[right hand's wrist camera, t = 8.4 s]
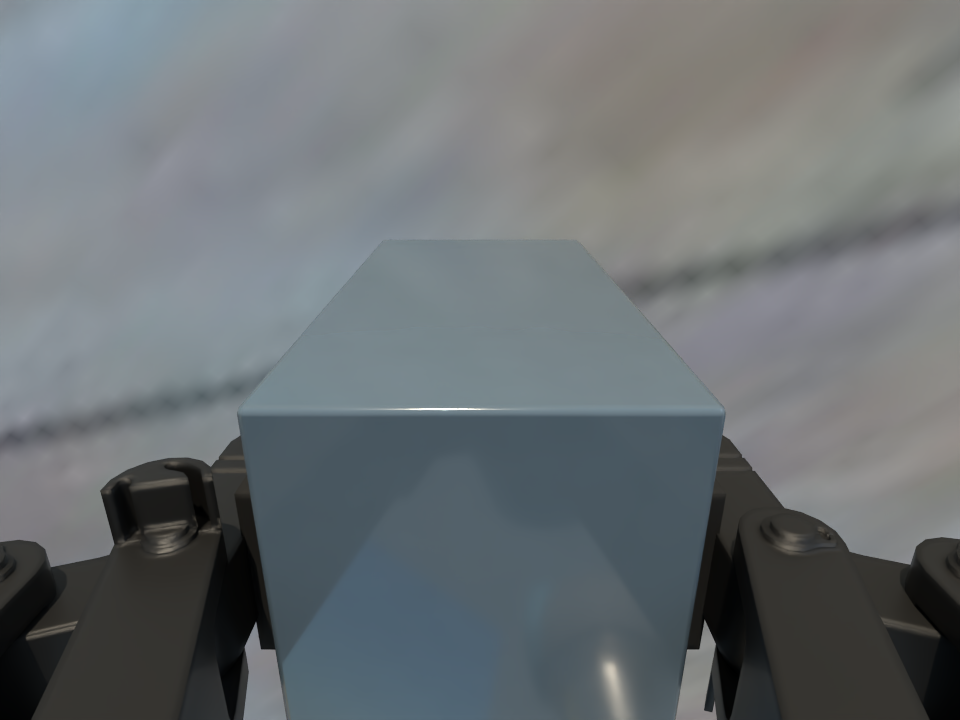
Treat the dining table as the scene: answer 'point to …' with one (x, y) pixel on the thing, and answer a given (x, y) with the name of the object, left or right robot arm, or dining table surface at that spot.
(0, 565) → the right robot arm
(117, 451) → the dining table surface
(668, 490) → the brick
